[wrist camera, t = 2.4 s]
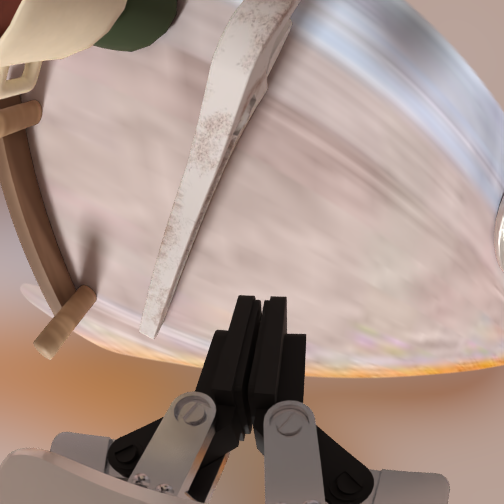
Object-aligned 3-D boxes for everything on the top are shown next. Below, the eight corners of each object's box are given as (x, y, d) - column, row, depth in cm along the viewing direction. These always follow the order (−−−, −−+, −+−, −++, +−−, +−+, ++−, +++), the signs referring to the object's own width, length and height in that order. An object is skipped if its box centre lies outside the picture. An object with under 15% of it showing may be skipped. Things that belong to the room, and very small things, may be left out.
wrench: (159, 297, 32) (283, -1, 13) (174, 305, 33) (311, 11, 14) (125, 355, 26) (253, -34, 7) (142, 364, 26) (300, -17, 7)
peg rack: (37, 78, 18) (-44, 99, 11) (104, 315, 31) (64, 374, 24) (6, 96, 19) (-65, 121, 12) (72, 309, 33) (32, 361, 25)
